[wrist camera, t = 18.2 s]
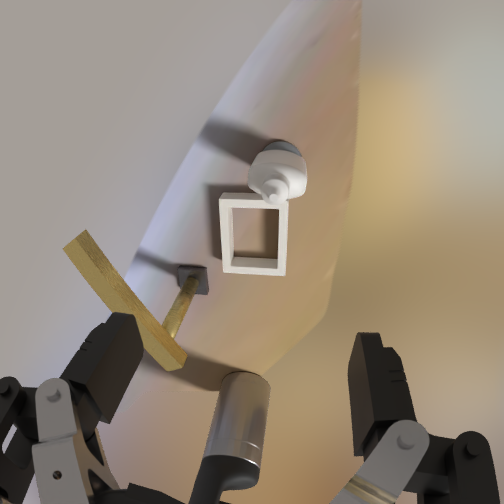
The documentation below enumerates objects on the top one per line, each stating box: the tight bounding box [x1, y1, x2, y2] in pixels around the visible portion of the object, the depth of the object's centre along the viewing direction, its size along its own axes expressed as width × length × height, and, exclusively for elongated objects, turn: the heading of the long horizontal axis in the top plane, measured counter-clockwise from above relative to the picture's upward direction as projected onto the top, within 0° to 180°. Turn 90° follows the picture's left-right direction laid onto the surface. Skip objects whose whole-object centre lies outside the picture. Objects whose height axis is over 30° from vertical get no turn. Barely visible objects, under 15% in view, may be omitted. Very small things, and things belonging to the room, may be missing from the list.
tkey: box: [63, 230, 199, 372], centre depth 36 cm, size 18×2×14 cm, turn 31°
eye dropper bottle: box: [248, 150, 307, 205], centre depth 30 cm, size 4×6×12 cm
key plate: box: [177, 266, 209, 295], centre depth 45 cm, size 4×4×1 cm
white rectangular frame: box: [219, 192, 289, 276], centre depth 40 cm, size 10×8×2 cm
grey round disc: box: [262, 141, 302, 157], centre depth 36 cm, size 5×5×1 cm
